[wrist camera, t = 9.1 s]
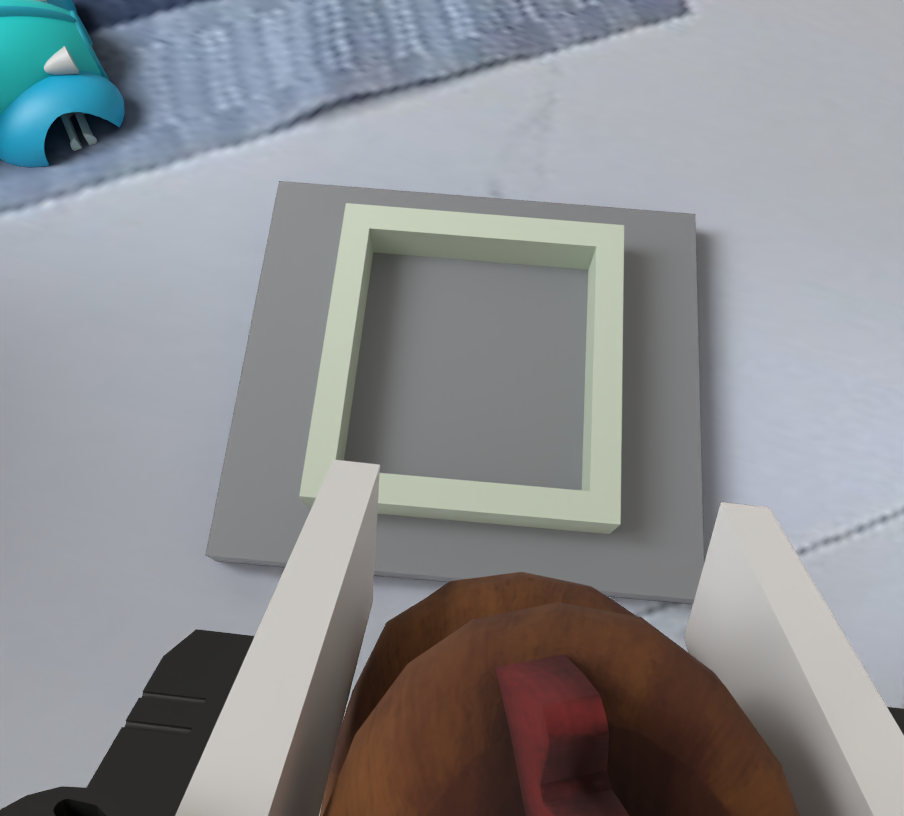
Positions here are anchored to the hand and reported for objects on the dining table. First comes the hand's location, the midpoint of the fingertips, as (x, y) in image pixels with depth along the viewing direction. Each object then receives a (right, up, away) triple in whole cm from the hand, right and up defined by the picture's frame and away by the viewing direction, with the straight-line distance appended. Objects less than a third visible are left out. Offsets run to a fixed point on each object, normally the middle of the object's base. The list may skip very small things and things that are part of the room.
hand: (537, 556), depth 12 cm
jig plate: (-1, +4, +22) cm, 23 cm away
